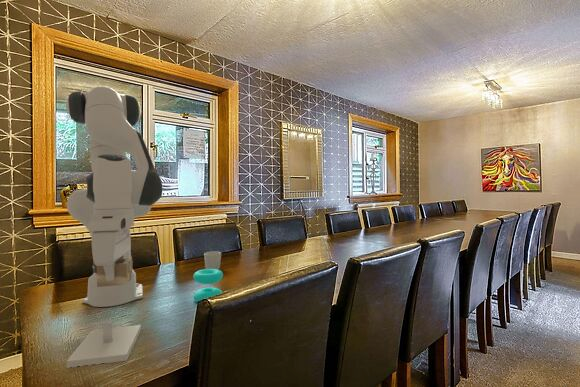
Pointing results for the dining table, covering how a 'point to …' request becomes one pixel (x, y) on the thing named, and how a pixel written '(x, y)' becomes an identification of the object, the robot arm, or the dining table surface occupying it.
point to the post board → (105, 345)
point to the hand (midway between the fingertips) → (115, 275)
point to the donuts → (207, 278)
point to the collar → (122, 273)
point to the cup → (212, 260)
